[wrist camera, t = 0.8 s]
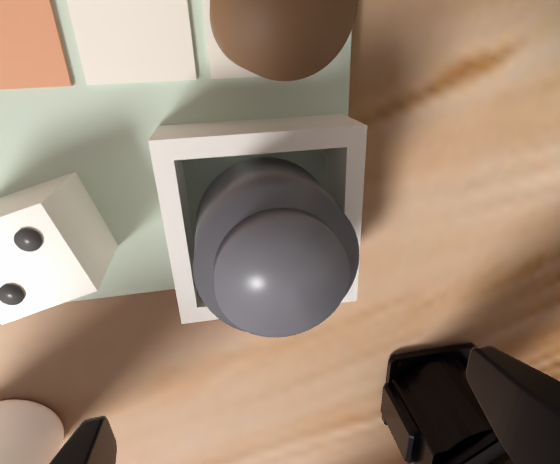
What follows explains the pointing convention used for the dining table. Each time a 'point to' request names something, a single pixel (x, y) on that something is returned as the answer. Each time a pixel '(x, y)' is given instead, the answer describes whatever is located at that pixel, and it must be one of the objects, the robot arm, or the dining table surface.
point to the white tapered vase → (28, 433)
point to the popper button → (272, 249)
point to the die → (50, 247)
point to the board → (159, 126)
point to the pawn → (282, 34)
